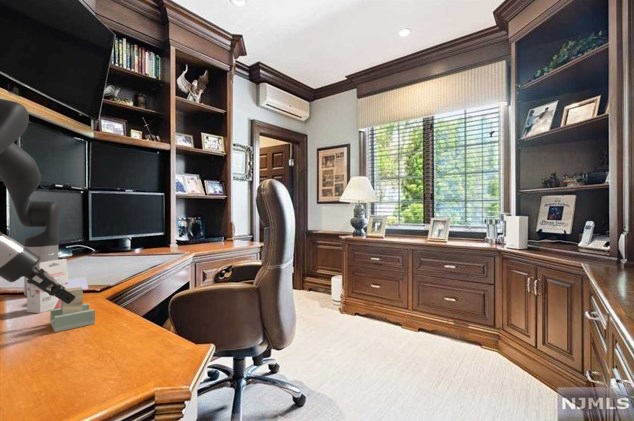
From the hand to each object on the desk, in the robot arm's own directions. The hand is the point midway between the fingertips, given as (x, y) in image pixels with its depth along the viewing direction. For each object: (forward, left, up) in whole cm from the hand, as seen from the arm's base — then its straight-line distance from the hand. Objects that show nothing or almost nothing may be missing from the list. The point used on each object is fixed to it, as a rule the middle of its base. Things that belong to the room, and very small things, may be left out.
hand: (69, 297), depth 81 cm
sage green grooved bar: (0, +1, -7) cm, 7 cm away
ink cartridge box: (-22, -2, -7) cm, 23 cm away
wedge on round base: (-31, +2, -7) cm, 32 cm away
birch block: (0, +1, -6) cm, 6 cm away
